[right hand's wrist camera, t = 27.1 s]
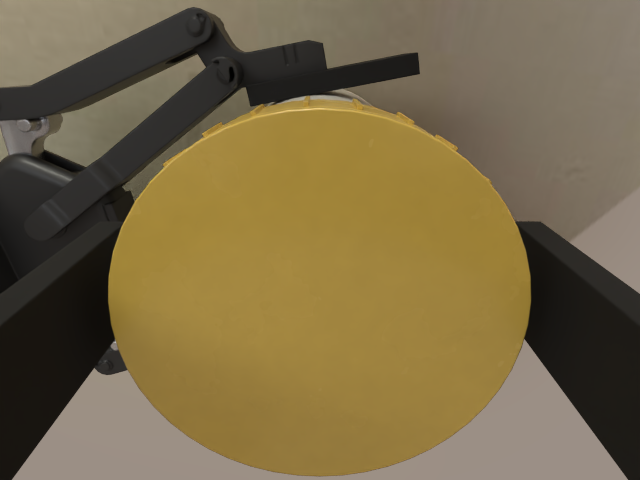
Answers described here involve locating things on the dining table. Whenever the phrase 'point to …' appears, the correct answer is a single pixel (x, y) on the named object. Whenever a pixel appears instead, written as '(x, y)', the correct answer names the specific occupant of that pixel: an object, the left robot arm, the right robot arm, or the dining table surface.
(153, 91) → the dining table surface
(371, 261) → the lid
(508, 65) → the dining table surface
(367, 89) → the dining table surface
